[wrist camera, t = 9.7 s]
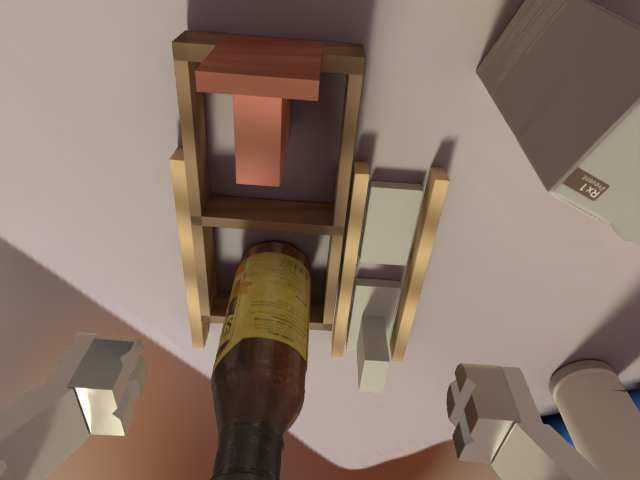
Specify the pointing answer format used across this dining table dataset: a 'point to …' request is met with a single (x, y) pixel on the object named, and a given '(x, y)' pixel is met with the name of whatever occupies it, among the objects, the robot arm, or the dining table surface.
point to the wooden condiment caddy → (261, 144)
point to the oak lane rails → (358, 192)
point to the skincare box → (574, 104)
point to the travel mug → (599, 417)
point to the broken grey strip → (381, 295)
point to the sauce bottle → (261, 361)
